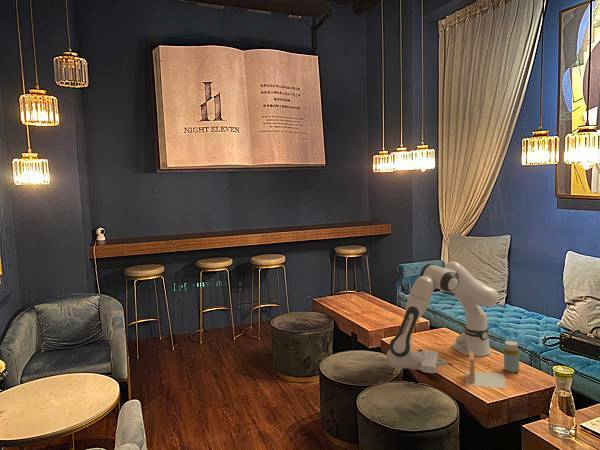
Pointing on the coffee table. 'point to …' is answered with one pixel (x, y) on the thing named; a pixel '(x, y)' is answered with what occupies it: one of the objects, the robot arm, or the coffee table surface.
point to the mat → (486, 379)
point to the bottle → (511, 357)
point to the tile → (472, 368)
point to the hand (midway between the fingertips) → (446, 362)
